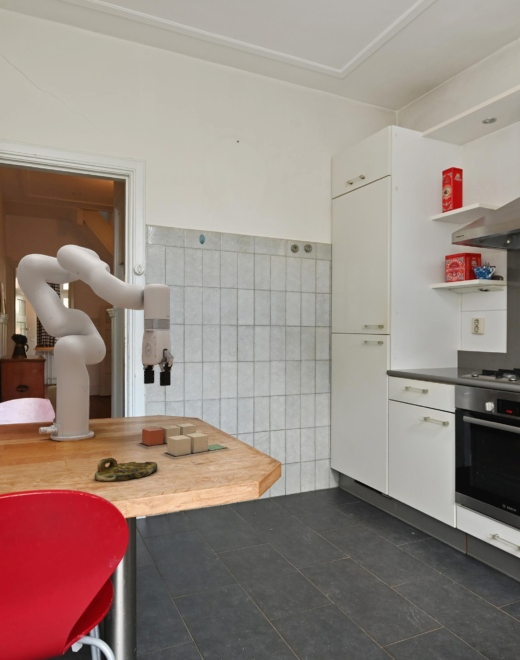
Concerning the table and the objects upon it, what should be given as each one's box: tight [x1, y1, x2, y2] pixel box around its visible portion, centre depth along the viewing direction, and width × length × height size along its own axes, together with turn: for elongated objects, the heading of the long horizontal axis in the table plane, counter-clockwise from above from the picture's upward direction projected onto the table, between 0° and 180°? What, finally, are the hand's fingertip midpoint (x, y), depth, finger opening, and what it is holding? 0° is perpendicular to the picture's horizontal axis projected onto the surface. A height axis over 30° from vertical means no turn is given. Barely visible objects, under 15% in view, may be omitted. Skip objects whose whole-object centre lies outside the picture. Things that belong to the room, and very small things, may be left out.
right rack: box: [164, 432, 228, 458], centre depth 131 cm, size 17×6×5 cm, turn 130°
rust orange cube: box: [141, 426, 163, 447], centre depth 139 cm, size 4×4×4 cm
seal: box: [94, 457, 158, 482], centre depth 108 cm, size 9×5×15 cm
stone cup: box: [47, 384, 57, 423], centre depth 169 cm, size 15×12×15 cm
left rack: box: [138, 422, 197, 448], centre depth 142 cm, size 17×6×5 cm, turn 130°
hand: (157, 384), depth 140 cm, fingers open, 9 cm apart
